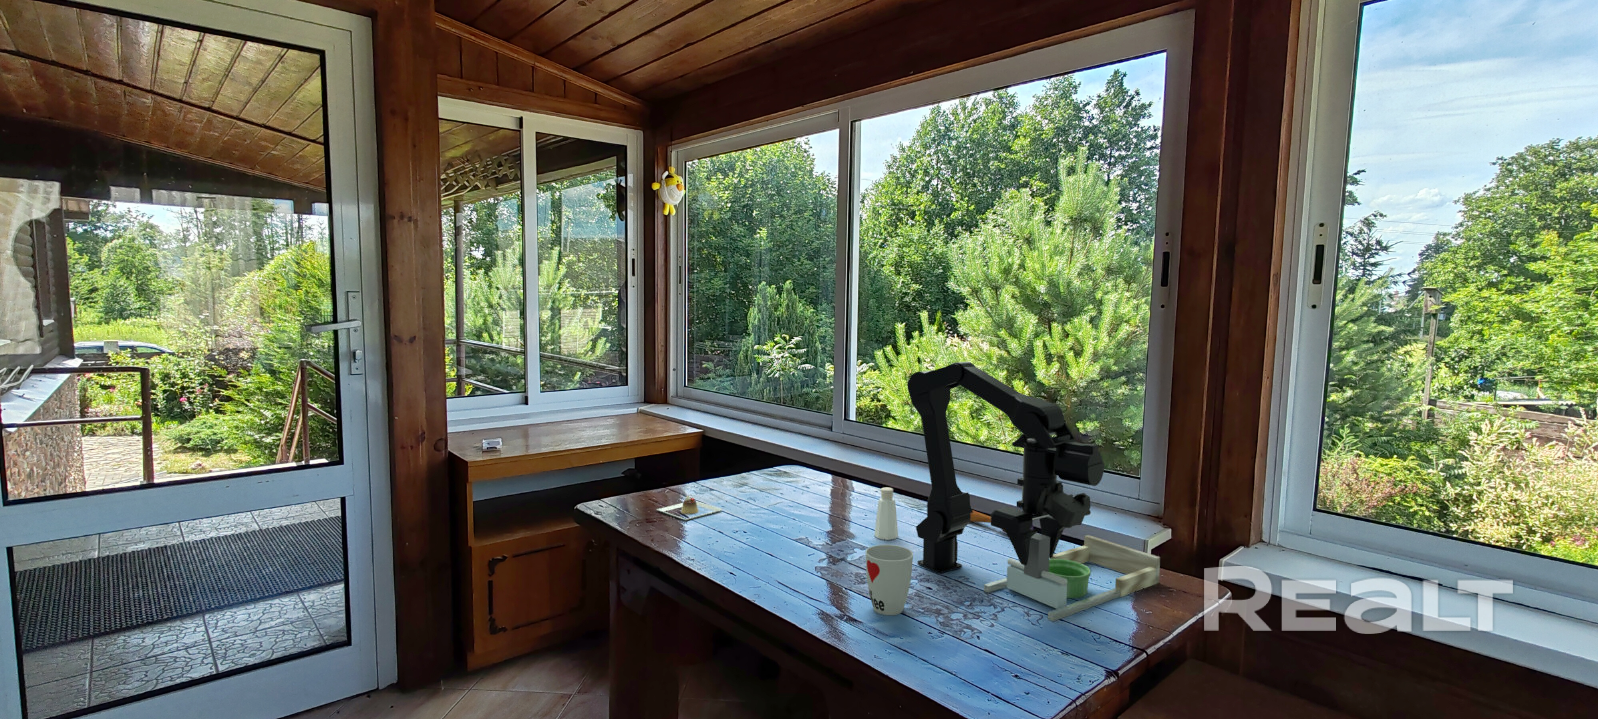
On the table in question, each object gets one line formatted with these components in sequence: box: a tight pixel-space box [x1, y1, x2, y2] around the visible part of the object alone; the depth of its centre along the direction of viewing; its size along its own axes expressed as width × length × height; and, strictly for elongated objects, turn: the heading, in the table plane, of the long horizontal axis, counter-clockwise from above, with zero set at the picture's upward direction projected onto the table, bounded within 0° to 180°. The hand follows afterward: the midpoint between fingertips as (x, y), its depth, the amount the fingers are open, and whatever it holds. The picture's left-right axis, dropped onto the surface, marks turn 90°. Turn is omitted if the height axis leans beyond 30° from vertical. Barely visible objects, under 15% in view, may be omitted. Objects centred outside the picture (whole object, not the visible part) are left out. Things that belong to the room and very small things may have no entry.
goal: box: [983, 534, 1161, 622], centre depth 133 cm, size 31×15×5 cm, turn 123°
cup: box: [865, 544, 914, 616], centre depth 123 cm, size 8×8×10 cm
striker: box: [1006, 532, 1068, 610], centre depth 127 cm, size 3×12×11 cm, turn 33°
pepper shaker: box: [874, 486, 899, 541], centre depth 161 cm, size 5×5×11 cm
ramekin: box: [1049, 558, 1092, 599], centre depth 132 cm, size 9×9×4 cm
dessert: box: [656, 494, 724, 521], centre depth 180 cm, size 12×12×5 cm
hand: (1036, 560), depth 127 cm, fingers open, 7 cm apart
